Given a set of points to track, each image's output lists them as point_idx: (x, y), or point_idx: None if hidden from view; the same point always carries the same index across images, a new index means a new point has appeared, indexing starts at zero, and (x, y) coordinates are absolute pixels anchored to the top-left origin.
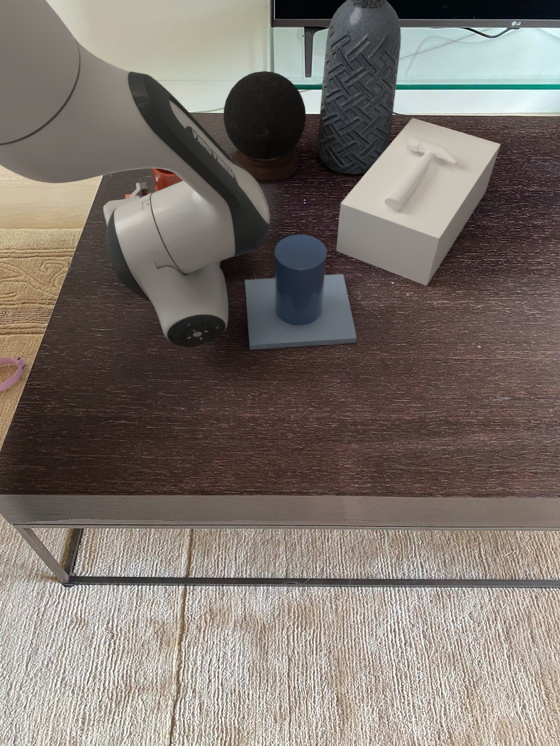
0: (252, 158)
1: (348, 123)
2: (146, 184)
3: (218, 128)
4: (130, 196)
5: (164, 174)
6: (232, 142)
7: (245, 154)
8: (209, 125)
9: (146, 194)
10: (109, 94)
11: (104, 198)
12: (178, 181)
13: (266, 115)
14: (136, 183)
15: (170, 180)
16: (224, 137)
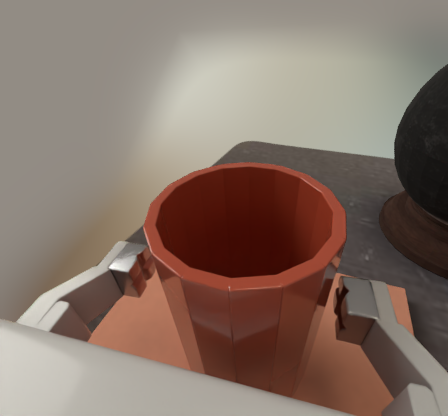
0: (445, 224)
1: None
2: (142, 254)
3: (351, 163)
4: (44, 296)
5: (167, 259)
6: (411, 183)
7: (437, 214)
8: (338, 158)
9: (130, 287)
10: None
11: (141, 230)
12: (226, 312)
13: None
14: (116, 243)
15: (187, 296)
16: (361, 176)
